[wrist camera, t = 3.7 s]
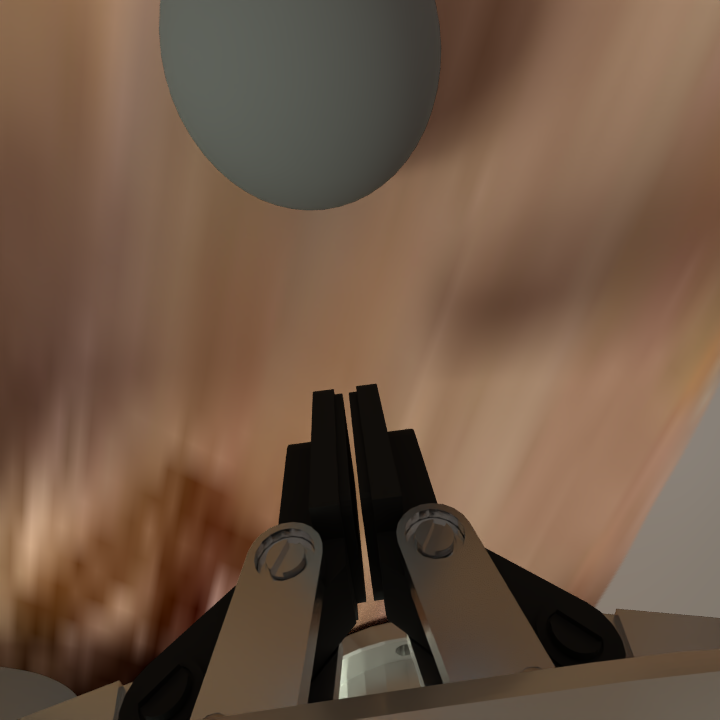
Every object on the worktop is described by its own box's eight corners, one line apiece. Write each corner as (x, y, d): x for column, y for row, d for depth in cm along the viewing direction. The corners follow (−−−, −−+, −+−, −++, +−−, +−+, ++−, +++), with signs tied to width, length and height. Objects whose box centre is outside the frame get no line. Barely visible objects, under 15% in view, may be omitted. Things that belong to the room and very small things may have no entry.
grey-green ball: (417, 189, 13) (478, 205, 8) (231, 211, 13) (167, 242, 8) (406, -57, 10) (484, -269, 5) (177, -33, 10) (30, -226, 5)
